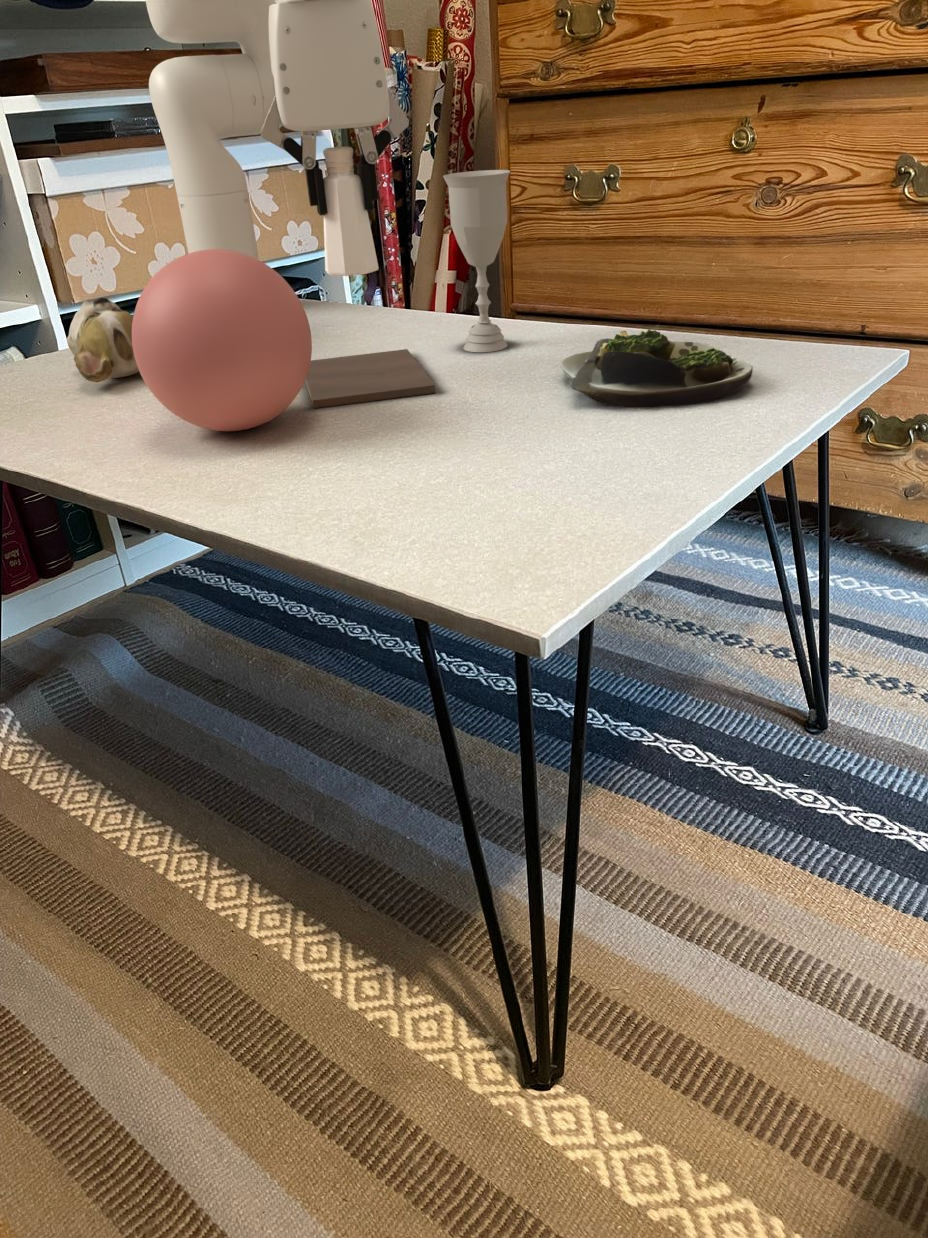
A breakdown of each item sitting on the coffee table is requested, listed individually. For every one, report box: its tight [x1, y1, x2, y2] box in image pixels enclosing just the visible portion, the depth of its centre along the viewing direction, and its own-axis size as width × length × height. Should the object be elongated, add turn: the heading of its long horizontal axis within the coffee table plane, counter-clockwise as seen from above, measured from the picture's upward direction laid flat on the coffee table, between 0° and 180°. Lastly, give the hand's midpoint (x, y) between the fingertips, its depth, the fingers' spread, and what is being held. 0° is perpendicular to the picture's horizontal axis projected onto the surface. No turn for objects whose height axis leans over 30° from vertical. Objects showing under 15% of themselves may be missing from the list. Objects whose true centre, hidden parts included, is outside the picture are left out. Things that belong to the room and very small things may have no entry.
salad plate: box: [560, 328, 753, 409], centre depth 92 cm, size 19×18×5 cm
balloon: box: [132, 249, 313, 432], centre depth 86 cm, size 15×20×15 cm
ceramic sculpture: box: [66, 297, 140, 383], centre depth 106 cm, size 11×9×15 cm
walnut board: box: [305, 348, 436, 409], centre depth 99 cm, size 16×12×1 cm
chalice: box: [442, 169, 511, 353], centre depth 104 cm, size 7×7×18 cm
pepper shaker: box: [322, 145, 380, 277], centre depth 91 cm, size 5×5×11 cm
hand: (344, 209), depth 91 cm, fingers closed on pepper shaker, 3 cm apart
